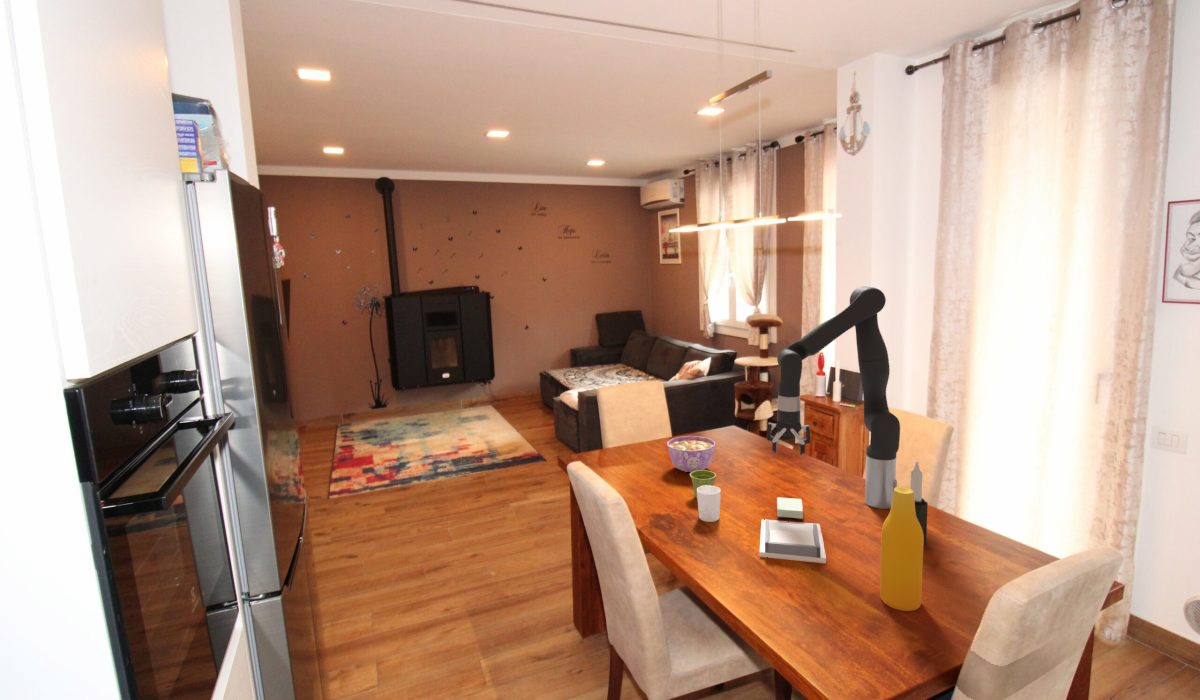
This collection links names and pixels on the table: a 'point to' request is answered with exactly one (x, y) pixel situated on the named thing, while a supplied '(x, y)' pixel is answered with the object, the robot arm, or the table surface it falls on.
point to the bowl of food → (691, 452)
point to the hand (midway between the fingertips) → (788, 453)
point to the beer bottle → (902, 554)
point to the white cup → (709, 502)
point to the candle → (919, 499)
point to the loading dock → (792, 541)
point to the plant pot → (702, 479)
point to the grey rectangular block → (789, 508)
